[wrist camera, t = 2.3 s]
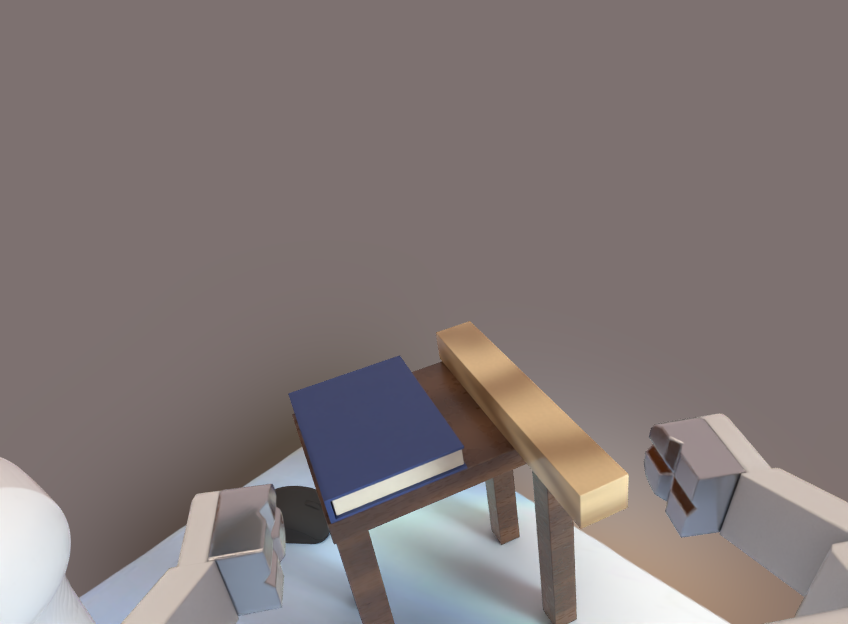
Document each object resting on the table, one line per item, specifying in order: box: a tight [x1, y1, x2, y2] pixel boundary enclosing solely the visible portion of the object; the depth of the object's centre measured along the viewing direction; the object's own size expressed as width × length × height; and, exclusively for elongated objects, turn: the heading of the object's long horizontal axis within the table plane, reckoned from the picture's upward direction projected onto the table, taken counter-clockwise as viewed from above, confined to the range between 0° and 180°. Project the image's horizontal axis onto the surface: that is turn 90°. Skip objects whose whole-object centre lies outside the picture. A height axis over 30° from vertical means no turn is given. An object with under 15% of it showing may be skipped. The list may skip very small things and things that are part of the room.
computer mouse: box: [275, 486, 330, 544], centre depth 73 cm, size 6×11×4 cm, turn 81°
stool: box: [292, 362, 577, 624], centre depth 55 cm, size 14×20×25 cm
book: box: [289, 356, 467, 524], centre depth 47 cm, size 14×10×2 cm
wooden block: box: [436, 321, 629, 529], centre depth 46 cm, size 23×4×3 cm, turn 22°
